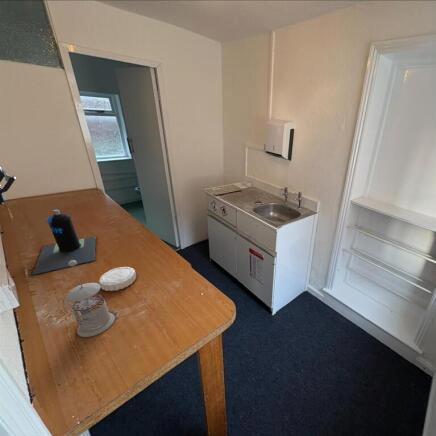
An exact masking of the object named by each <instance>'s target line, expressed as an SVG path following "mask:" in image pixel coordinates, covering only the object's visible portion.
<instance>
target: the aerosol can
mask: <svg viewBox="0 0 436 436" xmlns="http://www.w3.org/2000/svg"><path fill="white" fill-rule="evenodd" d="M52 213H53V214H52V215H51V216H49V217H48V218H47V220H46V223H48V226H49V228H50V230H51V233H52V235H53V238H54V240H55V244H57V245H58V247H59V251H60V252H70V251H74V250H76V249H78V248H80V247H81V244H80V242H79V239H80V238H79V237H78V235H77V231H76V229H75V226H74V224H73V220H72V216H71V215H69V214H67V213H61V212H60V210H59V209H54V210H52Z"/></svg>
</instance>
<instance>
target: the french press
mask: <svg viewBox="0 0 436 436" xmlns="http://www.w3.org/2000/svg"><path fill="white" fill-rule="evenodd" d="M76 264H77V262H76V261H75V260H71V261H69V262H68V266H71V267H73V269H74V271H75V274H76V278H77V279H78V282H79V285H77V286H75V287H74V288H72V289H71V290H70V291H68V292H67V294H66V295H65V298H64V299H63V300H62V303H61V305H62V307H63V310H65V311H66V312H67V313H68V314H70V315H73V316H74V318H75V320H76V322H77V325H78V327H77V330H76V334H77V335H78V336H79V337H83V338H90V337H94V336H97V335H99V334H101V333H103V332H104V331H106V330H107V329H109V328H110V327H111V326H112V325H113V324H114V322H115V318H116V317H115V315H114V314H113V313H112V312H110V311H109V308H108V305H107V302H106V300H105V298H104V297H103V295H102V294H100V293H99V292H100V290H101V286H100V284H99V282H98V283H97V282H88V283H87V282H86V283H82V282H81V279H80V277H79V275H78V274H79V273H78V272H77V270H76V267H75V266H77V265H76ZM74 265H75V266H74ZM65 301H66V303H67V304H68V306H69V307H70V308H71V309H72V312H71V311H69V310H68V309H67V308H66V306H65ZM70 302H74V303H73V304H72V305H71V304H70ZM79 312H80V314H79Z"/></svg>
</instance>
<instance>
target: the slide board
mask: <svg viewBox="0 0 436 436" xmlns="http://www.w3.org/2000/svg"><path fill="white" fill-rule="evenodd" d="M78 239H79V242H80V244H81V247H80V248H78V249H76V250H74V251H70V252H60V251H59V247H58V245H57V243H53V244H47V245H43V246H42V248H41V251H40V253H39V256H38V259H37V262H36V264H35V267H34V269H33V272H32V276H36V275H41V274H42V275H43V274H45V273H49V272H55V271H57V270H62V269H63V270H64V269H67V268H70V267H72V266H68V262H69V261H71V260H75V261H76V262H77V264H76V265H74V267H75V266H79V265H83V264H88V263H91V262H95V261H96V236H89V237H84V238H78Z"/></svg>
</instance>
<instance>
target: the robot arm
mask: <svg viewBox="0 0 436 436" xmlns="http://www.w3.org/2000/svg"><path fill="white" fill-rule="evenodd" d="M4 178H5V179H4ZM3 179H4V180H5V181H6V183H5V184H4V185H3V187H1V184H0V205H4V204H5V202H6V201H7V200H6V197H5V195H4V193H7V192H8V191H9V189H10V188H11V187H12V185H13V184H14V182H15V181H16V179H17V176H16V175H10V174H8V173H7V172H6V171H4V170H3V168H2V167H1V166H0V183H2V181H3Z"/></svg>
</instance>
